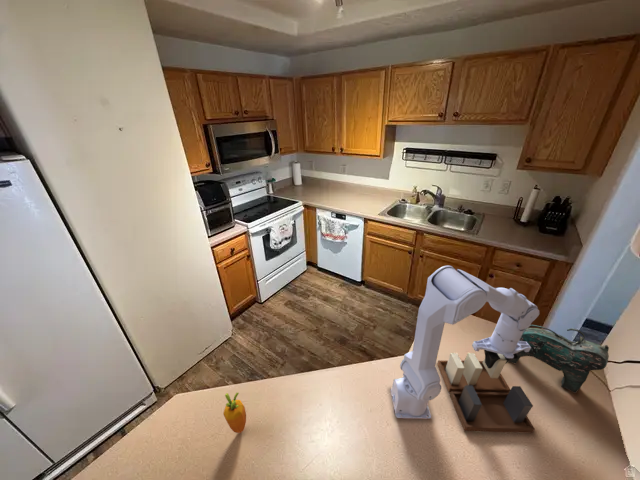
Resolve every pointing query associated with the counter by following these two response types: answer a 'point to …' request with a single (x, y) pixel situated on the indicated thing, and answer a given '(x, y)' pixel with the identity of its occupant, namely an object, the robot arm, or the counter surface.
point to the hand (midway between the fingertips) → (492, 365)
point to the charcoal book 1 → (469, 403)
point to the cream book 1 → (454, 368)
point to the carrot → (235, 414)
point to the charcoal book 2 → (517, 404)
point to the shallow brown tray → (482, 384)
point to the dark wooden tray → (491, 415)
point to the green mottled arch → (565, 354)
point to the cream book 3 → (495, 367)
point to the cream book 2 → (471, 369)
